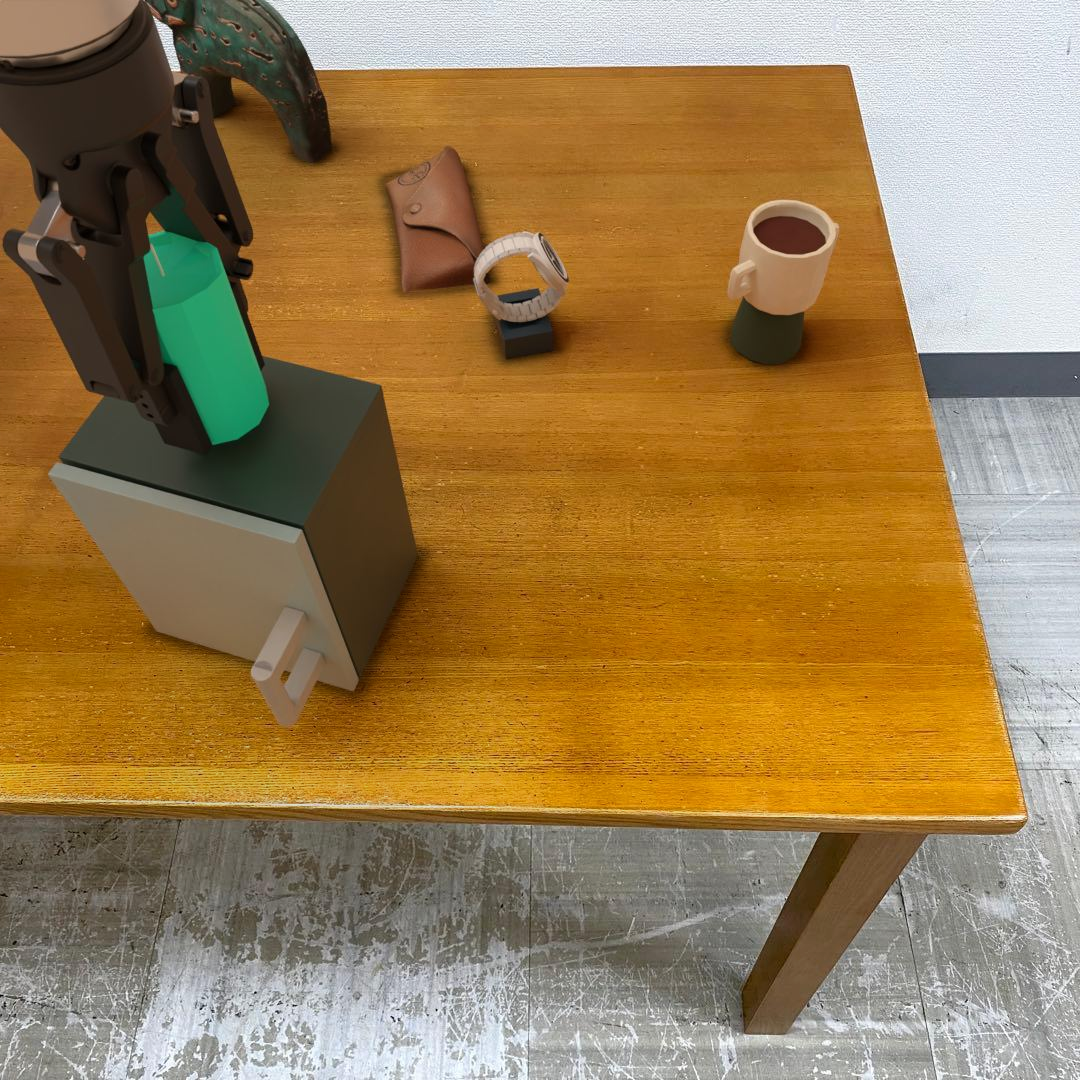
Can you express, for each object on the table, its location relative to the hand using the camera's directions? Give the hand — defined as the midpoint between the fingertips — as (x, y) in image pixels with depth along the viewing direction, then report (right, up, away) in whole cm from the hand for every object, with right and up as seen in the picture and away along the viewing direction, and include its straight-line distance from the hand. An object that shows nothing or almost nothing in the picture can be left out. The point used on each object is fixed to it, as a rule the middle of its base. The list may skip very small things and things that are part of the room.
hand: (215, 402), depth 60 cm
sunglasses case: (+9, +22, +41) cm, 47 cm away
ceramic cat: (-11, +36, +50) cm, 63 cm away
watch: (+18, +10, +32) cm, 38 cm away
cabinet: (0, -12, +18) cm, 22 cm away
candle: (0, 0, 0) cm, 0 cm away
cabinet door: (-2, -19, +13) cm, 23 cm away
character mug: (+39, +9, +32) cm, 51 cm away
